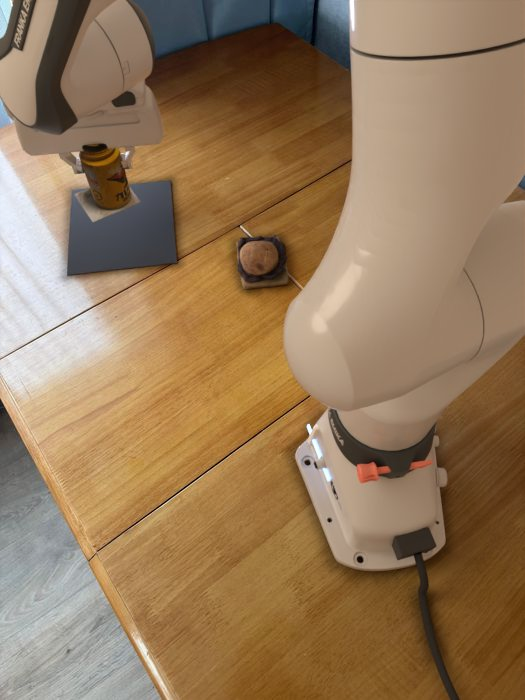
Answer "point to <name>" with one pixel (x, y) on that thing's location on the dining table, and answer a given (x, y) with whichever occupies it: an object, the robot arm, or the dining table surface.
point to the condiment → (104, 182)
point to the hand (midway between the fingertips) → (104, 168)
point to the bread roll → (262, 262)
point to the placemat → (124, 233)
